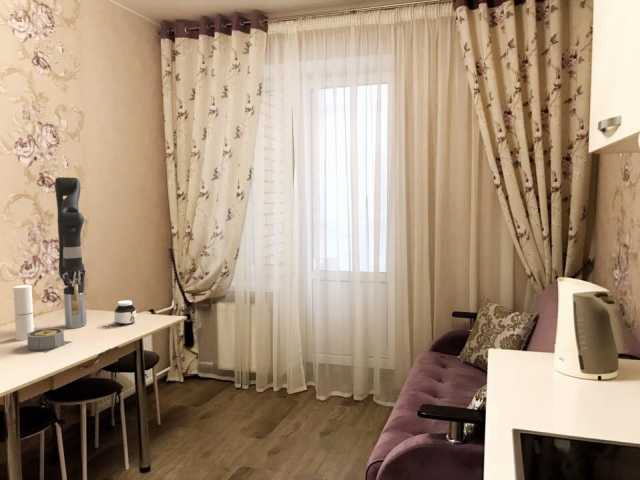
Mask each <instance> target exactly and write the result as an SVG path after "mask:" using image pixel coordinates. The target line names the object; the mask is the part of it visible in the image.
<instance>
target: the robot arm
mask: <svg viewBox="0 0 640 480" xmlns="http://www.w3.org/2000/svg"><path fill="white" fill-rule="evenodd" d="M54 189H55V198H56V206H57V207H56V208H57V219H56V220H57V233H58V245H59V246H58V247H59V248H58V249H59V253H58V275H59V278H61V280H62V282H63V285H64V286H65V287H64V288H63V302H64V303H63V304H64V305H63V306H64V324H65V325H64V326H65V328H66V329H78V328H82V327H85V326H86V325H87V308H86V304H85V274H86V269H85V266H84V265H85V264H84V263H83V255H82V254H83V253H82V252H83V251H82V247H81V246H82V245H81V244H82V243H81V236H82V235H81V234H82V233H81V232H82V228H83V224H84V222H85V218H84V215H83V213H81V212H79V201H80V197H81V182H80V180H79V178H77V177H69V176H68V177H65V176H64V177H61V176H60V177H56V178H55V180H54ZM64 197H65V198H64ZM74 284H78V299H79V314H78V315H72V305H71V295H74V294H75V293H74Z"/></svg>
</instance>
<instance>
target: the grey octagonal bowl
mask: <svg viewBox="0 0 640 480" xmlns="http://www.w3.org/2000/svg"><path fill="white" fill-rule="evenodd" d="M64 334H65V333H64V330H63V328H57V327H56V328H55V327H49V328H42V329H35V330H34V331H32V332H29V333H27V340H26V341H27V347H28V349H29V350H33V351H42V350H50V349H54V348H56V349H58V347H59V348H61V347H63V346H62V345H63V343H64V341H65V338H64V337H65V335H64ZM60 346H61V347H60ZM54 350H55V349H54Z"/></svg>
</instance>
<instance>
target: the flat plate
mask: <svg viewBox="0 0 640 480" xmlns="http://www.w3.org/2000/svg"><path fill="white" fill-rule="evenodd" d="M70 343H73V341H67V340H64V343H63V345H62V346H60V347H58V348H61V347H63V346H66V345H69V344H70ZM58 348H54V349H50V350H42V351H33V350H29V349H28V346H26V347H24V348H20V349H18V351H21V352H33V353H49V352H51V351H53V350H56V349H58Z"/></svg>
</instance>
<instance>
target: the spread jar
mask: <svg viewBox="0 0 640 480" xmlns="http://www.w3.org/2000/svg"><path fill="white" fill-rule="evenodd" d="M136 319H137V309H136V307H135V306H134V305H133V301H132V300H120V301H118V302H117V306H116V307H115V309H114V321H115V323H116V324H117V325H119V326H120V327H121V326H123V327H124V326H125V325H126V326H131V325H133V324H134V323H135V322H136ZM126 326H125V327H126Z"/></svg>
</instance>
